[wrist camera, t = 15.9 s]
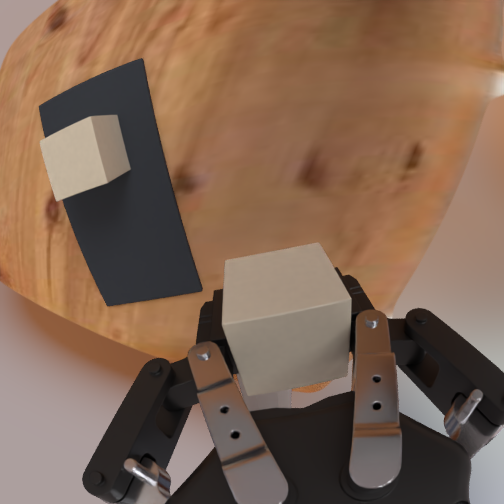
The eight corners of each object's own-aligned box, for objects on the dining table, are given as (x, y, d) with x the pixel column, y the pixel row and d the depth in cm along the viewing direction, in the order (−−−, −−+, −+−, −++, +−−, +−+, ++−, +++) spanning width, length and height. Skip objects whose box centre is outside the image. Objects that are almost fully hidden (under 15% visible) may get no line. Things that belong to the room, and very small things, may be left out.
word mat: (41, 106, 17) (38, 106, 16) (143, 58, 16) (141, 58, 16) (108, 304, 26) (107, 306, 25) (202, 288, 25) (202, 291, 25)
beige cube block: (222, 260, 13) (218, 324, 9) (319, 241, 13) (352, 298, 9) (242, 330, 16) (245, 397, 12) (324, 314, 15) (347, 376, 11)
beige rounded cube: (69, 134, 18) (38, 142, 14) (117, 114, 18) (90, 116, 14) (83, 185, 20) (55, 202, 16) (131, 169, 20) (107, 183, 16)
